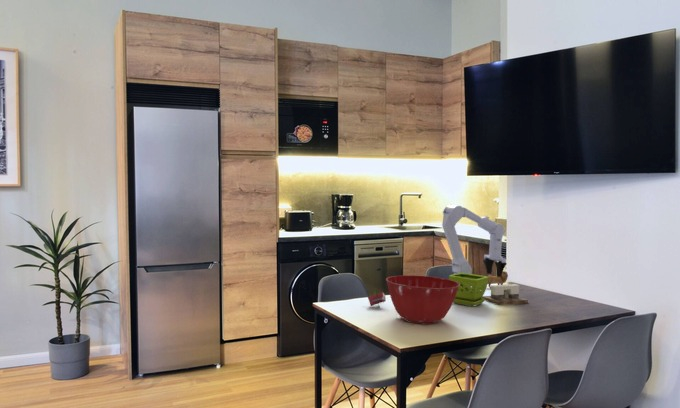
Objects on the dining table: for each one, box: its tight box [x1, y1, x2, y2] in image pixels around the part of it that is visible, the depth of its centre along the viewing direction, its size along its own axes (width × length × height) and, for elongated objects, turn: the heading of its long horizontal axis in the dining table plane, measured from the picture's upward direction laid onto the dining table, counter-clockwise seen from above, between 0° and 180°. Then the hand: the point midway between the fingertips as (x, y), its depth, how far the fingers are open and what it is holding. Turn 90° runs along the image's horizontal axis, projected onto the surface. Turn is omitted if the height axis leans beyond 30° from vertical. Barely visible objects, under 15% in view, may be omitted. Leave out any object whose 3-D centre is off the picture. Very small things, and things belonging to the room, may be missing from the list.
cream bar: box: [490, 283, 520, 295], centre depth 258 cm, size 14×3×4 cm, turn 113°
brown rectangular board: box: [482, 289, 529, 306], centre depth 258 cm, size 17×12×5 cm
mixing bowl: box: [385, 274, 460, 325], centre depth 216 cm, size 28×28×16 cm
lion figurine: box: [486, 270, 509, 290], centre depth 291 cm, size 15×5×9 cm, turn 106°
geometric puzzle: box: [367, 291, 386, 308], centre depth 236 cm, size 7×7×8 cm
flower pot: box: [448, 273, 489, 307], centre depth 250 cm, size 14×14×13 cm
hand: (494, 275), depth 275 cm, fingers open, 7 cm apart
